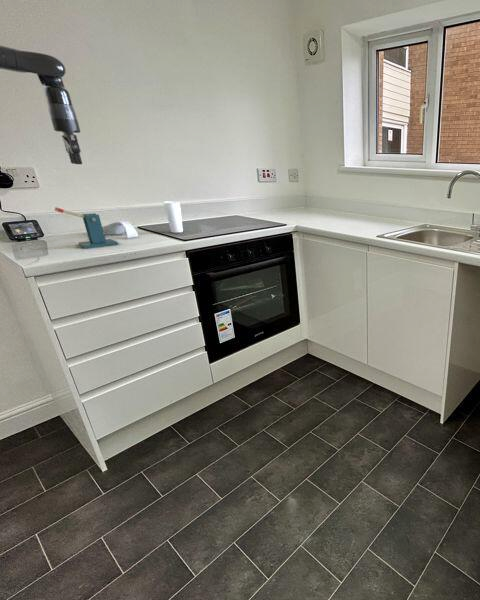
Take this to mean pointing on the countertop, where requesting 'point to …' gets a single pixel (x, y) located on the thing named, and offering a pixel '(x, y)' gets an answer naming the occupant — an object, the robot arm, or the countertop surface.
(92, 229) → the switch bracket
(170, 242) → the countertop surface
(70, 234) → the countertop surface
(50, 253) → the countertop surface
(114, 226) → the white rounded block
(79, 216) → the switch lever
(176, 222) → the drinking glass
